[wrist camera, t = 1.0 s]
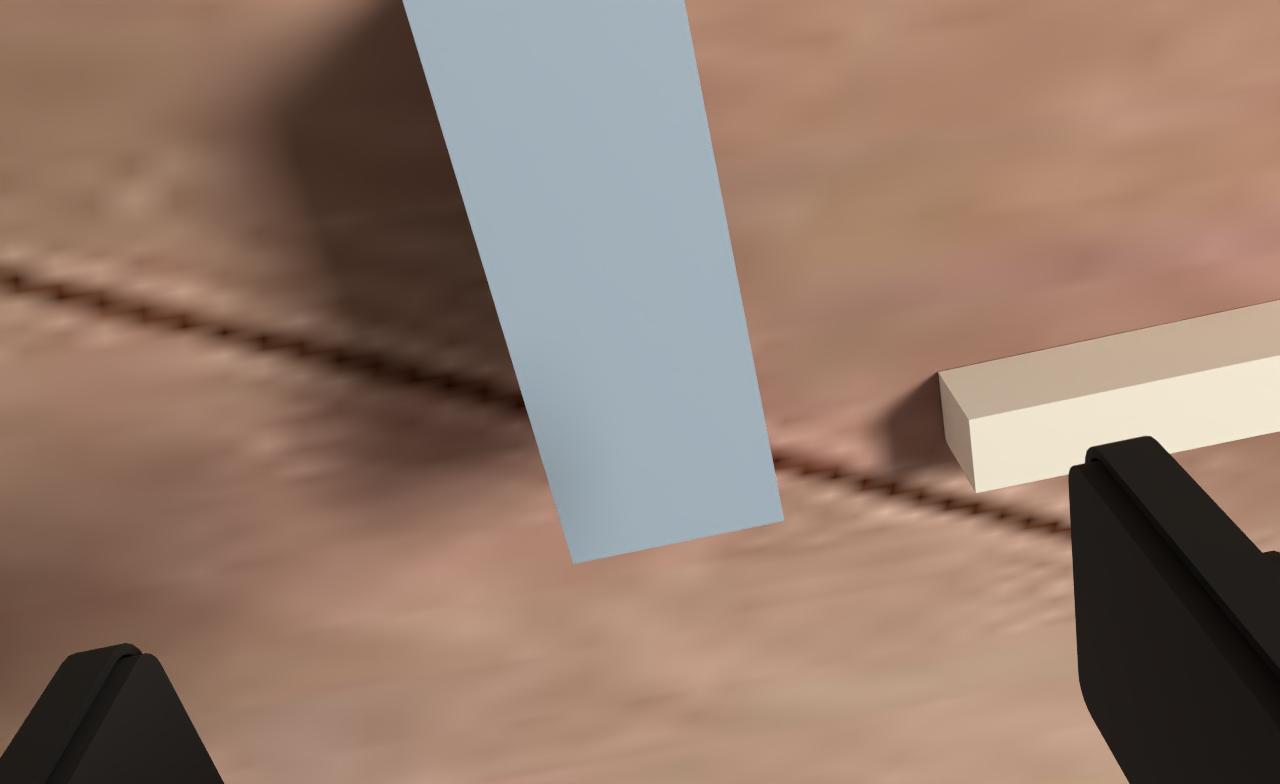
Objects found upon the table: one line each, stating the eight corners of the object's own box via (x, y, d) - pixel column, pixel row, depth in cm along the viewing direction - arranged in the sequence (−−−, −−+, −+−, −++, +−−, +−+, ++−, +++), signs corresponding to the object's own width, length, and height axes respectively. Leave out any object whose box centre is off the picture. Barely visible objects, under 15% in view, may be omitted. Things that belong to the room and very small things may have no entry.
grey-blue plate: (459, -75, 27) (393, -30, 18) (641, -120, 27) (665, -96, 18) (578, 361, 32) (573, 563, 23) (730, 328, 32) (784, 520, 23)
